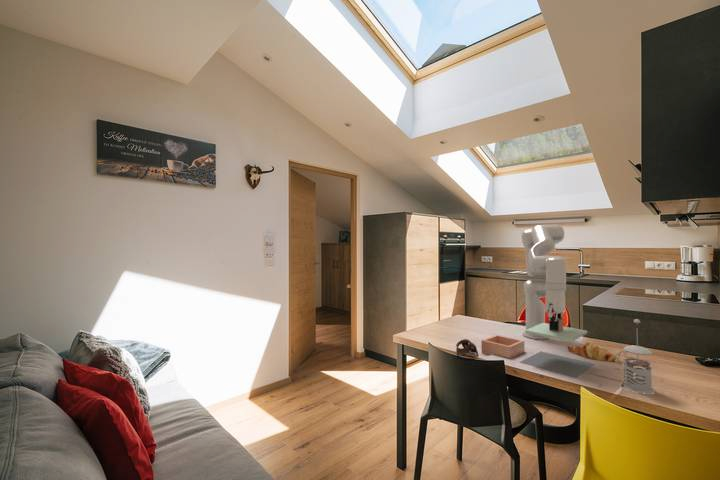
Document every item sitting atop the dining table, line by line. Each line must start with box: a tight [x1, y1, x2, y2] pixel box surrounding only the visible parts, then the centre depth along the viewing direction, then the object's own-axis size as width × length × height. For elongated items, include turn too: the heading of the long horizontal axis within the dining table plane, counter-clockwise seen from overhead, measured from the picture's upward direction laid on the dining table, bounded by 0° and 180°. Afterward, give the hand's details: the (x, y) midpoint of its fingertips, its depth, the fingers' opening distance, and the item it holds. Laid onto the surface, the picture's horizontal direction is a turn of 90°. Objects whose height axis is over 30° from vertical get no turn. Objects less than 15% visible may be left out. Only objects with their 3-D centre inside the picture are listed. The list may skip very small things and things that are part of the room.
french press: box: [615, 318, 656, 395], centre depth 124 cm, size 10×12×25 cm
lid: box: [524, 318, 588, 343], centre depth 147 cm, size 18×18×6 cm
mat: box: [518, 351, 596, 379], centre depth 146 cm, size 22×22×1 cm
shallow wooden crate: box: [481, 334, 525, 359], centre depth 163 cm, size 14×14×6 cm
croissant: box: [567, 342, 622, 364], centre depth 154 cm, size 21×10×8 cm, turn 38°
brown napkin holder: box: [455, 338, 479, 357], centre depth 162 cm, size 12×10×8 cm
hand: (556, 328), depth 147 cm, fingers closed on lid, 4 cm apart
